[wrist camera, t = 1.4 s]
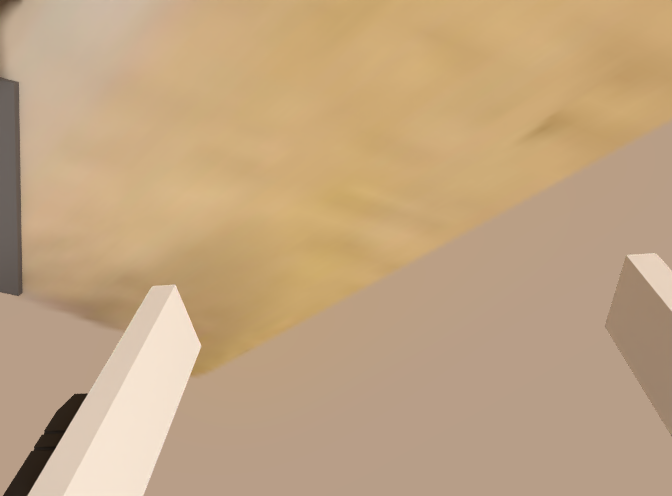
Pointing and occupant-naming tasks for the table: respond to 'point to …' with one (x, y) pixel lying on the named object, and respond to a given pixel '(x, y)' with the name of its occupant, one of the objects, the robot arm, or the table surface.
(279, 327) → the table surface
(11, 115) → the can holder
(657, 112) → the table surface
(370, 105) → the table surface
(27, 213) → the table surface
